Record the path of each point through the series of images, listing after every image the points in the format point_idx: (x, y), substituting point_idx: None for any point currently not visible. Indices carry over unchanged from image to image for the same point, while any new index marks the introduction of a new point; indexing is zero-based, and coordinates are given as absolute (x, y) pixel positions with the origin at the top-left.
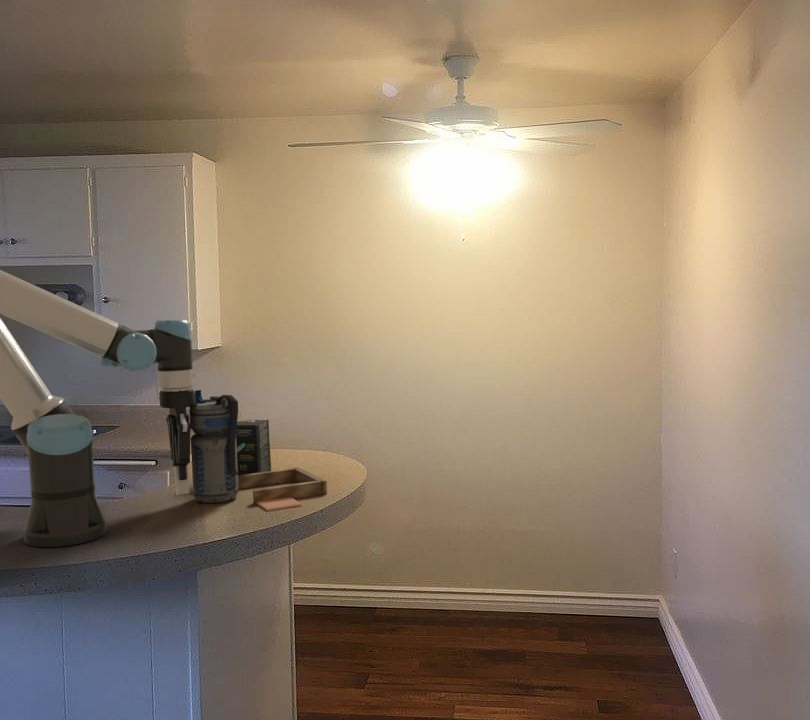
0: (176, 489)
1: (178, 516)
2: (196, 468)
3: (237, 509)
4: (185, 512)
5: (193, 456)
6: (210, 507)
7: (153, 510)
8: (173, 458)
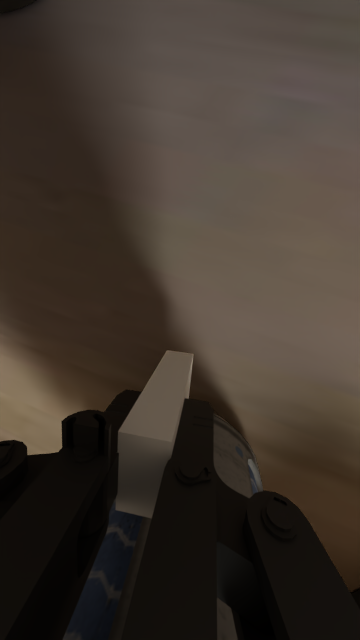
0: (169, 358)
1: (53, 294)
2: (133, 519)
3: (43, 441)
4: (86, 327)
5: (114, 630)
6: (101, 403)
7: (173, 250)
8: (194, 502)
